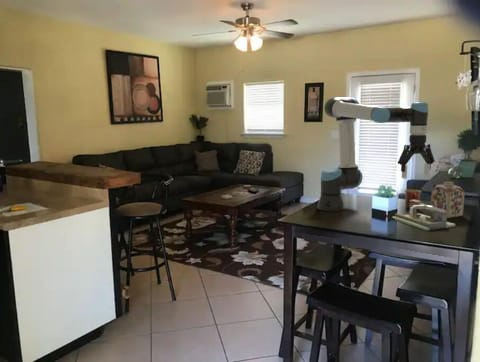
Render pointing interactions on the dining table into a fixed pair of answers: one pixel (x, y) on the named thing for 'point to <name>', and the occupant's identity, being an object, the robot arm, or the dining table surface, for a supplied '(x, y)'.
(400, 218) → the pitch
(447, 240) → the dining table surface
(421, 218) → the ball
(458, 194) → the decorative jar
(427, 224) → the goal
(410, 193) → the mug
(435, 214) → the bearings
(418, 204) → the white arched piece
